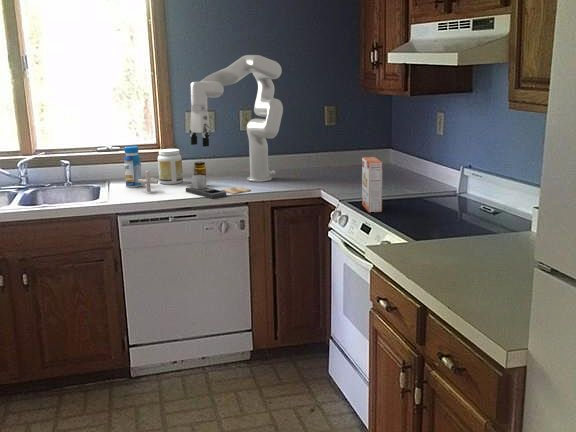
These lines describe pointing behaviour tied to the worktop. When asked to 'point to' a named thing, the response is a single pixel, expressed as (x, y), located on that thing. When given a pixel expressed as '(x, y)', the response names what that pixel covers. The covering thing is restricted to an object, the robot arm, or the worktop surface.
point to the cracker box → (372, 184)
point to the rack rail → (207, 192)
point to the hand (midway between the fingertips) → (199, 145)
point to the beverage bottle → (132, 166)
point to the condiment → (199, 169)
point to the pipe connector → (148, 181)
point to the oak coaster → (236, 190)
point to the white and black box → (199, 182)
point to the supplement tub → (170, 166)
